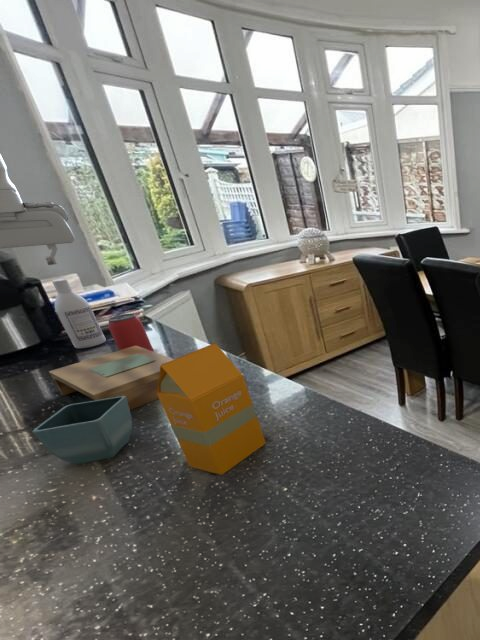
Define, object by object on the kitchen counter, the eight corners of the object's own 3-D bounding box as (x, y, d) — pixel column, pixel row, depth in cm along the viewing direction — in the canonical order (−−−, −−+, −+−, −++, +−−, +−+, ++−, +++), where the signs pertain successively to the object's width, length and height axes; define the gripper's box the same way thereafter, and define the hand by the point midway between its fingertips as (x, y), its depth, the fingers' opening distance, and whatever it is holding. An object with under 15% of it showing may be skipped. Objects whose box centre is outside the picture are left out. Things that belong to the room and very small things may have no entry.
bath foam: (113, 340, 122) (83, 277, 114) (89, 349, 116) (56, 283, 108) (92, 339, 123) (62, 277, 115) (68, 349, 116) (33, 283, 108)
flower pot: (88, 444, 73) (66, 404, 70) (145, 434, 76) (126, 394, 73) (56, 476, 66) (29, 432, 62) (121, 463, 68) (98, 420, 65)
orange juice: (266, 443, 73) (233, 344, 65) (221, 475, 65) (177, 368, 57) (235, 435, 75) (199, 340, 67) (187, 466, 67) (141, 362, 59)
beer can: (145, 351, 113) (128, 312, 109) (160, 354, 111) (143, 314, 106) (118, 360, 108) (99, 319, 103) (133, 364, 106) (114, 322, 101)
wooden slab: (106, 419, 81) (93, 394, 79) (61, 394, 91) (48, 370, 89) (193, 385, 94) (183, 361, 92) (144, 365, 104) (135, 344, 102)
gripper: (61, 201, 94) (86, 259, 99) (-84, 205, 80) (-47, 272, 86) (61, 202, 90) (87, 262, 95) (-92, 206, 76) (-52, 276, 82)
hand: (22, 267), depth 90 cm, fingers open, 8 cm apart
